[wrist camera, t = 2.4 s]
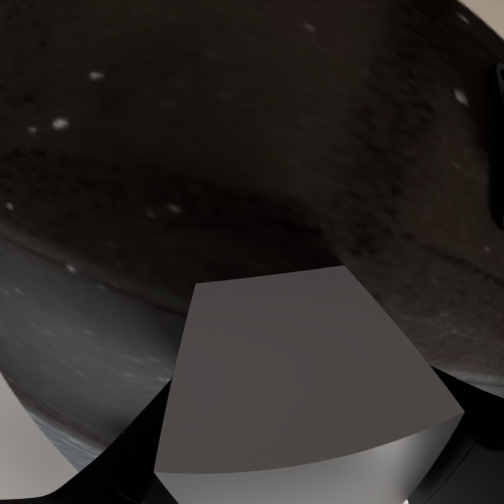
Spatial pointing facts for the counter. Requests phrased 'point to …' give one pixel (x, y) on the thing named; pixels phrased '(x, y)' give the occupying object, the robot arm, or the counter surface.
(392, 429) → the plug
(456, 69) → the counter surface
